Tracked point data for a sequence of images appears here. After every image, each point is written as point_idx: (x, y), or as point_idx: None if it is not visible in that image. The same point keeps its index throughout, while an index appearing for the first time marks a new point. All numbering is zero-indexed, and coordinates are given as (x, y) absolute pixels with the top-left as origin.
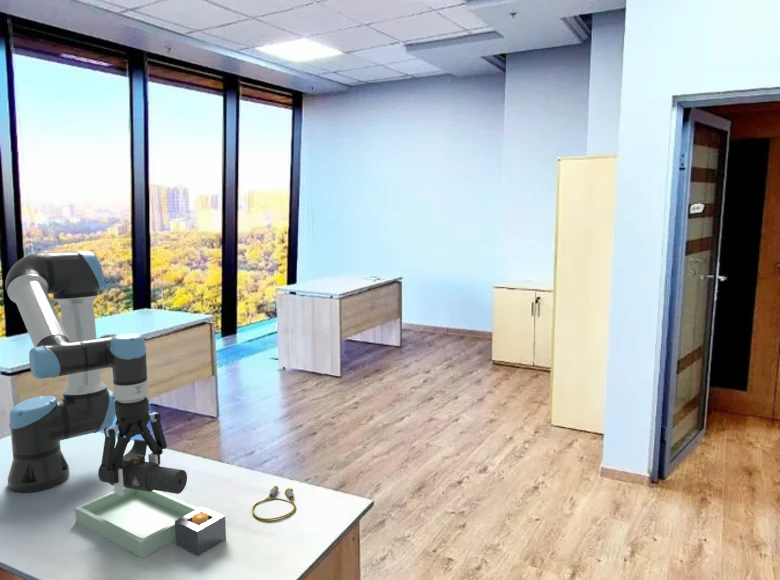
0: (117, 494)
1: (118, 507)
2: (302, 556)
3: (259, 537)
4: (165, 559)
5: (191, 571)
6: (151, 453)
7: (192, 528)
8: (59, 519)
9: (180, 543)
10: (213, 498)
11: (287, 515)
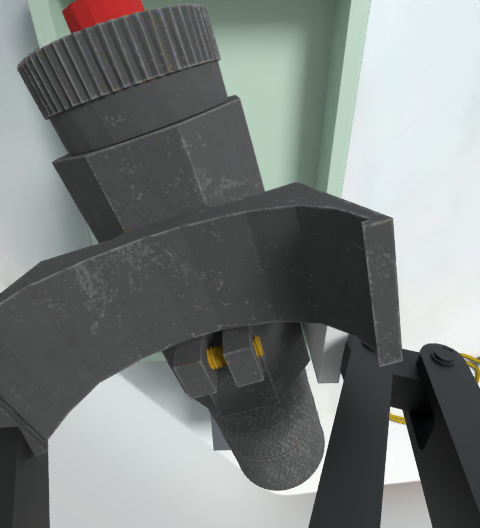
0: None
1: (218, 43)
2: (312, 483)
3: (324, 426)
4: (167, 366)
5: (179, 415)
6: (338, 340)
7: (215, 437)
8: None
9: None
10: (432, 255)
11: None
